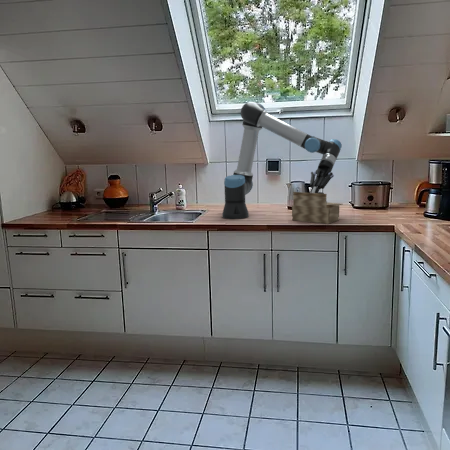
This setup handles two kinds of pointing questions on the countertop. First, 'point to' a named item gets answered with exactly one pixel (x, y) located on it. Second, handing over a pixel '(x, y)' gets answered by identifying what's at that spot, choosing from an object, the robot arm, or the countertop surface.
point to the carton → (316, 213)
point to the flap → (309, 199)
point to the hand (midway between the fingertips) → (311, 197)
